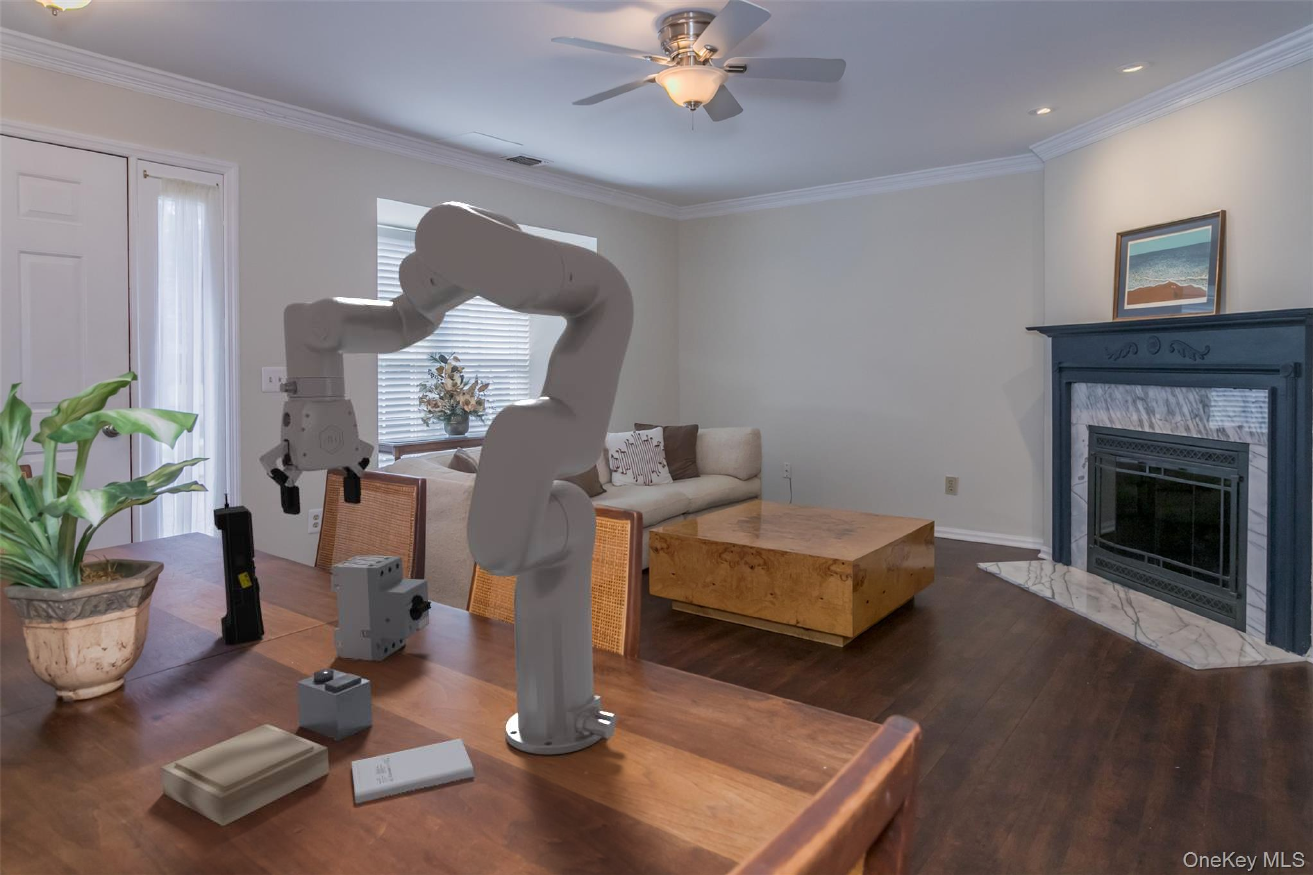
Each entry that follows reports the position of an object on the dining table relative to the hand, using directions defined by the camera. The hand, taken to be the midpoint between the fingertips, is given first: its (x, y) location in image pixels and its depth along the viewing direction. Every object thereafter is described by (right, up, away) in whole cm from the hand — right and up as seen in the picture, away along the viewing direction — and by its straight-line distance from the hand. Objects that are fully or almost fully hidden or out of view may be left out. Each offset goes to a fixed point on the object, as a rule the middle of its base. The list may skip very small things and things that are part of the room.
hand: (323, 508), depth 113 cm
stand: (+3, -28, -26) cm, 39 cm away
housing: (+7, -27, -12) cm, 31 cm away
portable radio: (-23, -25, +22) cm, 41 cm away
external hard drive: (+21, -29, -24) cm, 43 cm away
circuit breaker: (+5, -25, +14) cm, 29 cm away
